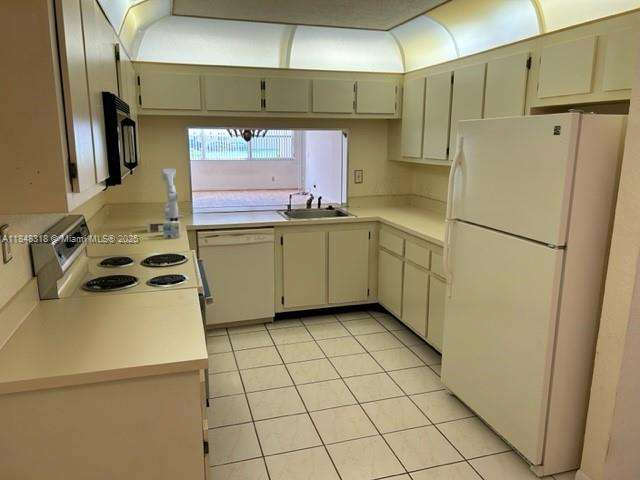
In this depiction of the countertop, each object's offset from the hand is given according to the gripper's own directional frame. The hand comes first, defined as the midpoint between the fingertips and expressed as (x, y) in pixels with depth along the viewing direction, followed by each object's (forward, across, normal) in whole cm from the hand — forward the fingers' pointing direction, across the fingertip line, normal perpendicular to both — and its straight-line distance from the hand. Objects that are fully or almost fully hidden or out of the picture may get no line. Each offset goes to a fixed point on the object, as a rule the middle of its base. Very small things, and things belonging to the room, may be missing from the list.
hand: (174, 228), depth 343 cm
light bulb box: (+3, -2, -18) cm, 18 cm away
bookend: (+1, -17, 0) cm, 17 cm away
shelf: (+2, -10, +1) cm, 10 cm away
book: (+1, -9, 0) cm, 9 cm away
